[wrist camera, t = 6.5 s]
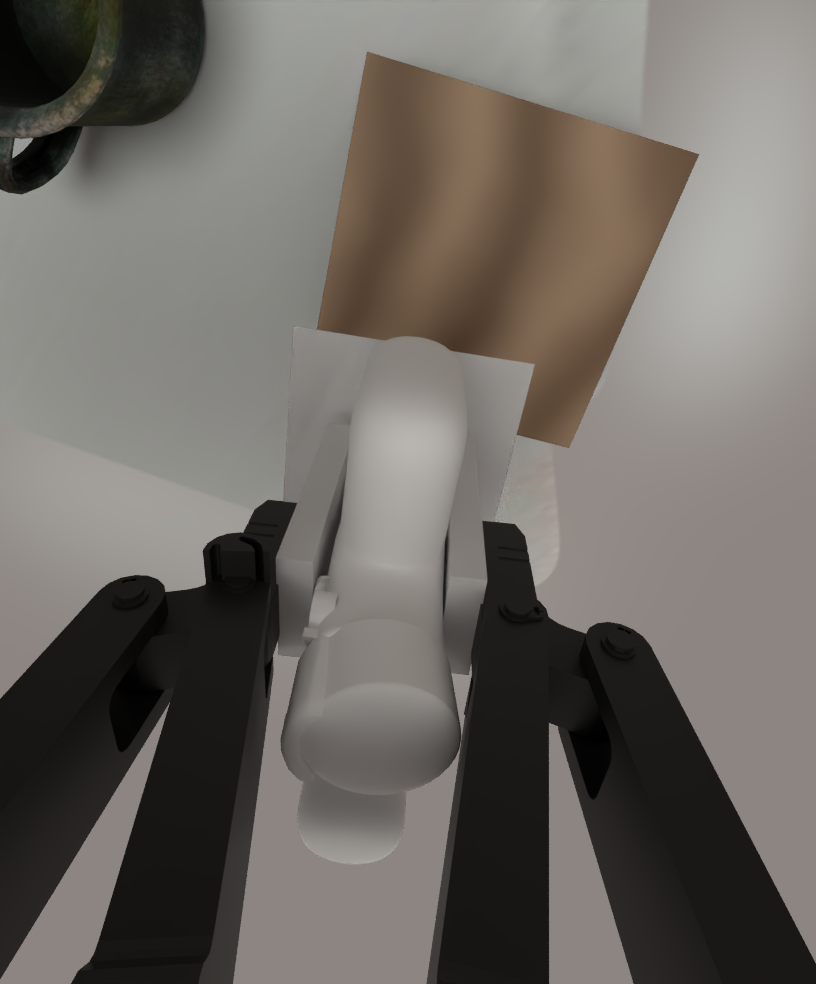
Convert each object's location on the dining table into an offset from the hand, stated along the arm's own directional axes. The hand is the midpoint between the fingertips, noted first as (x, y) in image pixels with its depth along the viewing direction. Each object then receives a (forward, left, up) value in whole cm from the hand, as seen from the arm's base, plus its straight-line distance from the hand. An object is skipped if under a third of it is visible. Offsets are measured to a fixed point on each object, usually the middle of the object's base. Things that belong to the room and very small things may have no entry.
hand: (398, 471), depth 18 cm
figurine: (0, 0, -5) cm, 5 cm away
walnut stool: (+3, +3, -25) cm, 26 cm away
